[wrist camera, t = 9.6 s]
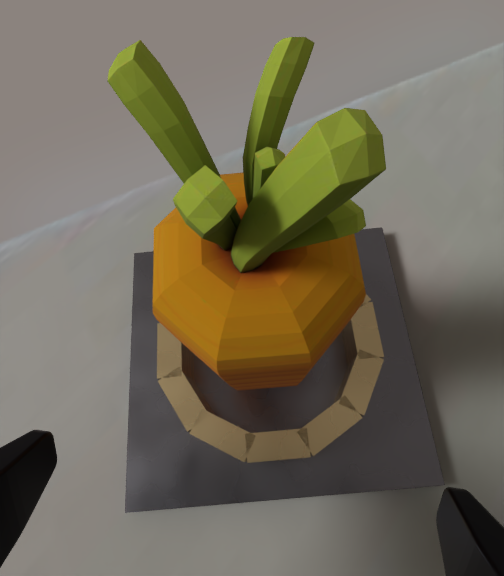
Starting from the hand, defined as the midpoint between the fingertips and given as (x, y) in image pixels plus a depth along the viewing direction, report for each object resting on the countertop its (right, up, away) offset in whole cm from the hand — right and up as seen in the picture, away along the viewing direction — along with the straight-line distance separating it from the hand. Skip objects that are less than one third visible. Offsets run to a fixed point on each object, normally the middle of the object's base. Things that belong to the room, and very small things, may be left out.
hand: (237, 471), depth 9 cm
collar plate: (+1, +1, +10) cm, 10 cm away
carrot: (+1, +1, +9) cm, 9 cm away
